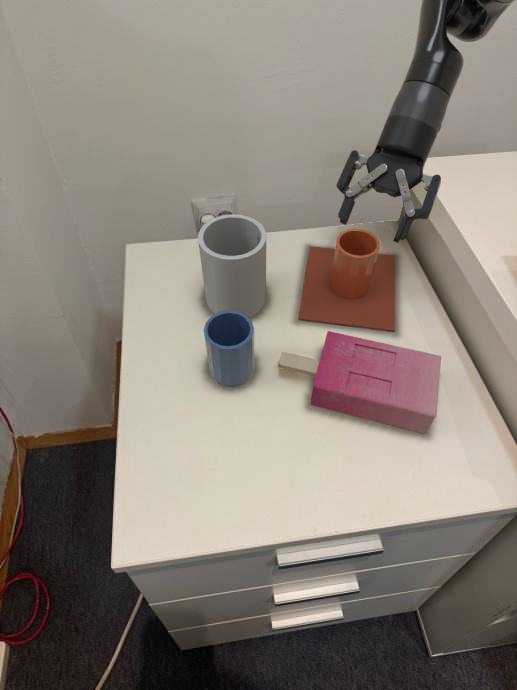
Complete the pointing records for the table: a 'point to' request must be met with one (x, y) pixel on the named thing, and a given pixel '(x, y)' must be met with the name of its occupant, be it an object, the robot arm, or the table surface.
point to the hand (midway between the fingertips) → (368, 232)
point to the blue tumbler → (230, 347)
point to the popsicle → (372, 380)
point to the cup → (233, 263)
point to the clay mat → (333, 309)
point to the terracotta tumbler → (354, 263)
